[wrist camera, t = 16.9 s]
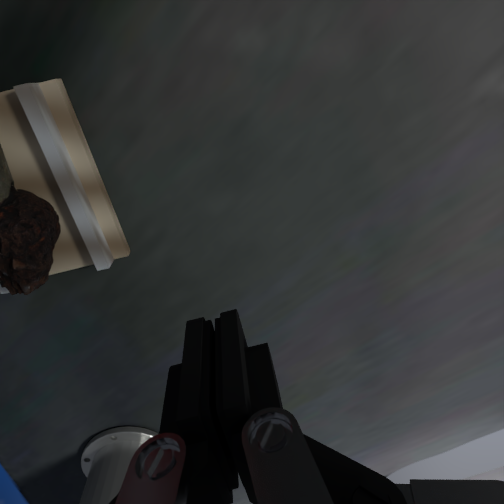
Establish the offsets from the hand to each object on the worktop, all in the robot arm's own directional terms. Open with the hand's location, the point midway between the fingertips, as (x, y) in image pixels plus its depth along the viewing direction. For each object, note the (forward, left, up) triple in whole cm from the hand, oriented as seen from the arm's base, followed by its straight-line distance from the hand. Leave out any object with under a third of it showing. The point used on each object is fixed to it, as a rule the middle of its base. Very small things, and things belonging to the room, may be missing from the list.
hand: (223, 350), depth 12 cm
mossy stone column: (+3, +19, -26) cm, 32 cm away
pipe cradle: (+2, +18, -27) cm, 33 cm away
